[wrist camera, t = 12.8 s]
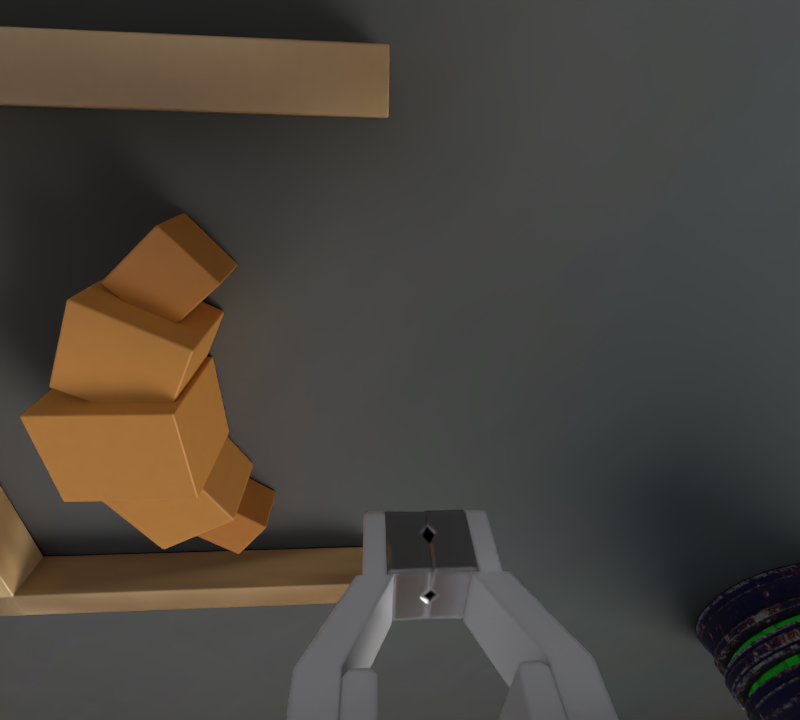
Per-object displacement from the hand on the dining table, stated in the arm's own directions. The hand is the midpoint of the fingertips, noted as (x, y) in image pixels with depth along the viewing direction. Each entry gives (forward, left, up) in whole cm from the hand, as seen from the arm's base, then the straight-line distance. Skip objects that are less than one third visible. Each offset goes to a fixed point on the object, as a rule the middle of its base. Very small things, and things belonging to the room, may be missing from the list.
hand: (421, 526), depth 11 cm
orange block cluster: (+1, -9, -7) cm, 12 cm away
